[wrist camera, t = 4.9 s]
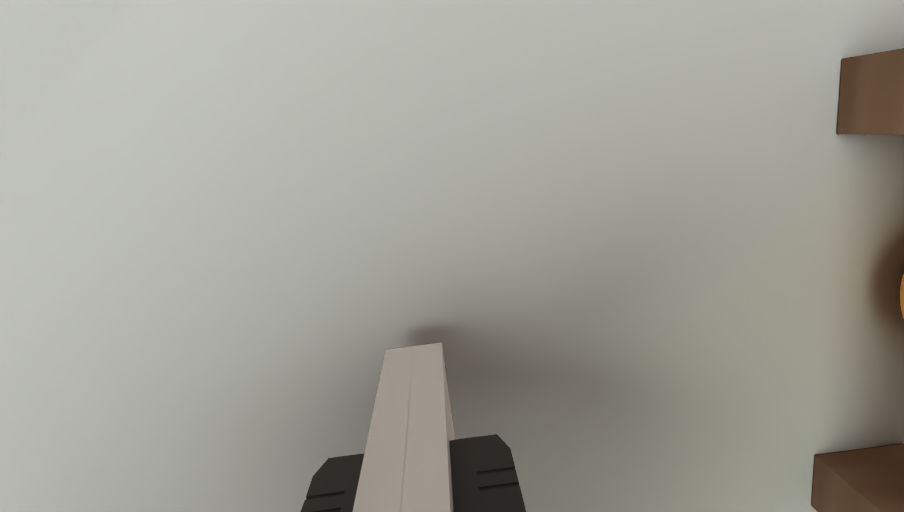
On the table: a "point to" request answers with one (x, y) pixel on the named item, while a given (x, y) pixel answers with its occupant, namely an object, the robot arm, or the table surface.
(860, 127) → the bridge
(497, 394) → the table surface
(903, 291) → the ball
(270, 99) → the table surface
